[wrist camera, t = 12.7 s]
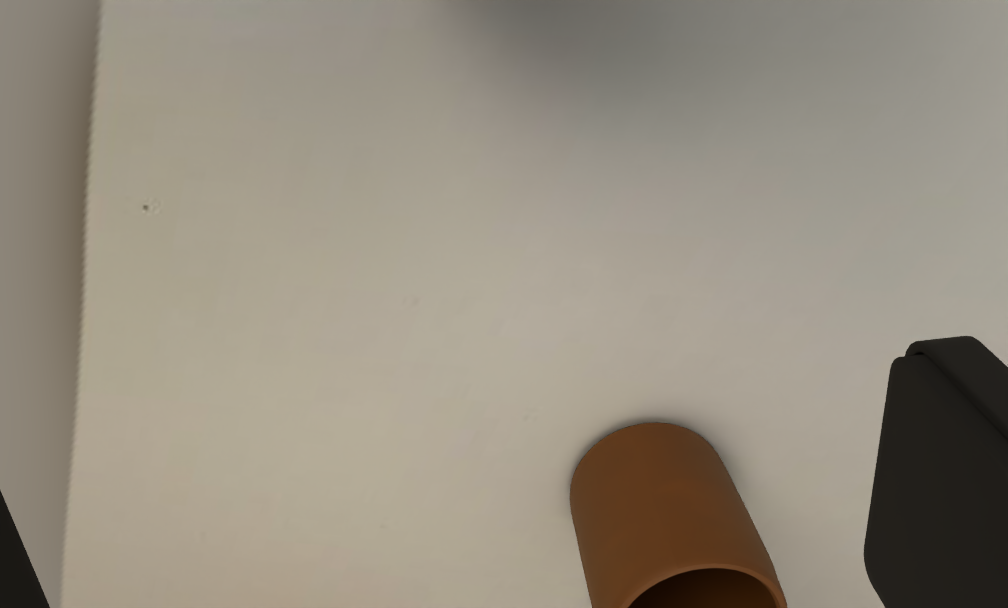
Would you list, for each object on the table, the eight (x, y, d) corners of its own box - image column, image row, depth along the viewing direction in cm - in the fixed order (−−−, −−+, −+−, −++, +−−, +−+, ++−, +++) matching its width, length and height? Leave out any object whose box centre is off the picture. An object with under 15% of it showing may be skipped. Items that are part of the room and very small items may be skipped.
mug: (668, 611, 49) (721, 774, 40) (529, 597, 47) (554, 764, 39) (743, 426, 43) (822, 570, 35) (588, 405, 42) (632, 550, 34)
